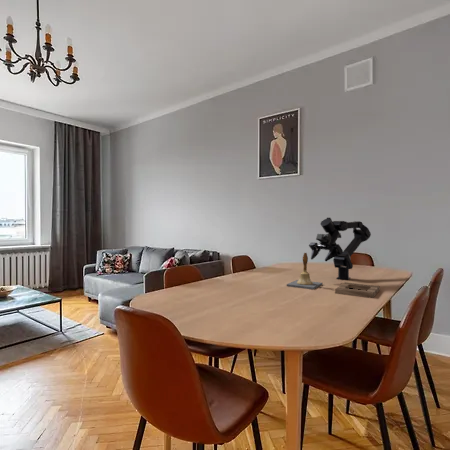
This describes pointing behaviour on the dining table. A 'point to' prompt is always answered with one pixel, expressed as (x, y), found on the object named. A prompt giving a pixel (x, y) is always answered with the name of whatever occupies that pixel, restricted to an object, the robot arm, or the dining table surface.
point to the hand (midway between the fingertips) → (318, 260)
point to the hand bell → (305, 273)
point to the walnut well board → (345, 290)
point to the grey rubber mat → (313, 286)
